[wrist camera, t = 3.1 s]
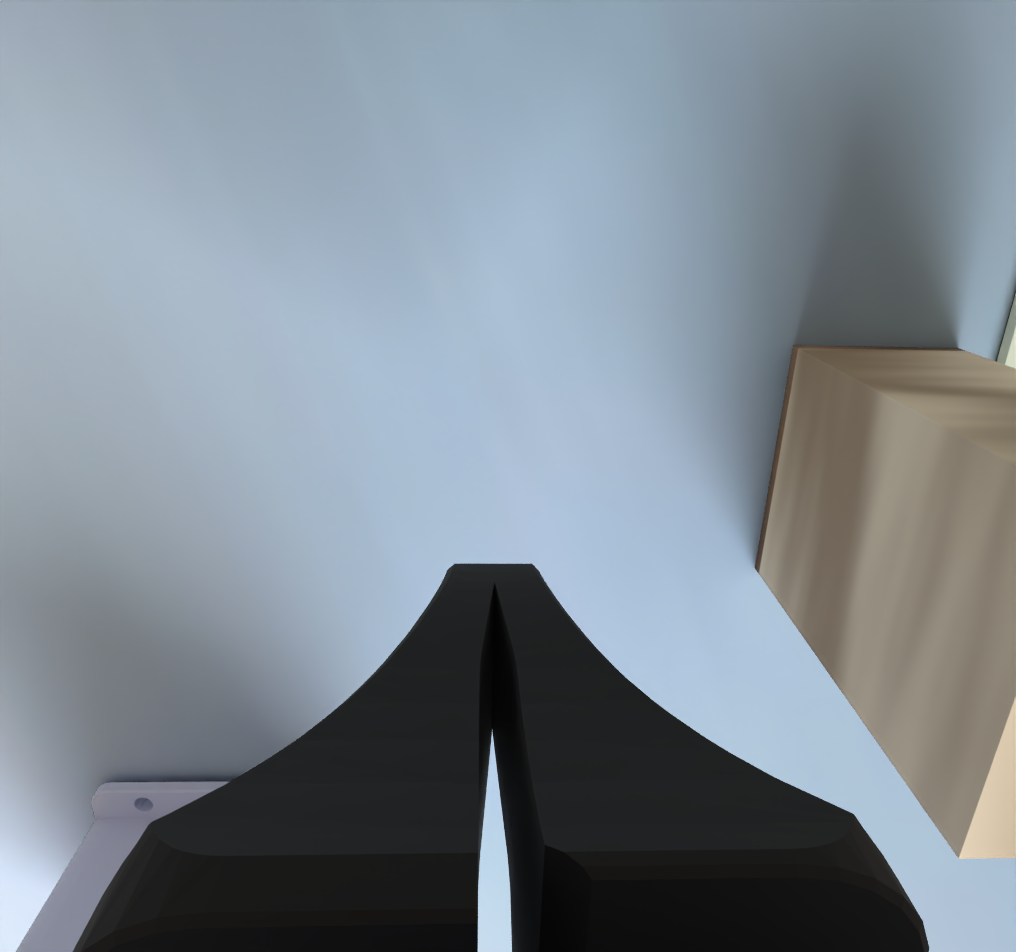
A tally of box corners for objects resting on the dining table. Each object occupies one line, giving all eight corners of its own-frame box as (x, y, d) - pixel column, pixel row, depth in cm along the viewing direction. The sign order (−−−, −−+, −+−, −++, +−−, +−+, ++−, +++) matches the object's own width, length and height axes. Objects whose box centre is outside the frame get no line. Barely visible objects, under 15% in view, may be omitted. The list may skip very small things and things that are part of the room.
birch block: (754, 568, 19) (959, 858, 11) (793, 345, 17) (1084, 500, 9) (901, 569, 20) (1209, 855, 11) (957, 348, 17) (1396, 503, 9)
